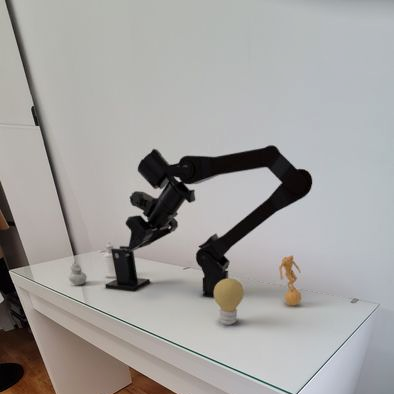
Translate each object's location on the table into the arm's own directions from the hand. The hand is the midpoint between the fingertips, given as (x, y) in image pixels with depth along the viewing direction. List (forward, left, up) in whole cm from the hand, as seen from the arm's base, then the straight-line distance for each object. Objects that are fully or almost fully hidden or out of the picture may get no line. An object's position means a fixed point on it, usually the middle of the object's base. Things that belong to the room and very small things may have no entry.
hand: (139, 245), depth 84 cm
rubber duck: (+24, 0, -13) cm, 27 cm away
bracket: (+6, -1, -12) cm, 14 cm away
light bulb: (-31, +21, -13) cm, 39 cm away
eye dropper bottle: (+16, -10, -13) cm, 23 cm away
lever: (+2, 0, -2) cm, 3 cm away
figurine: (-44, +7, -13) cm, 46 cm away
